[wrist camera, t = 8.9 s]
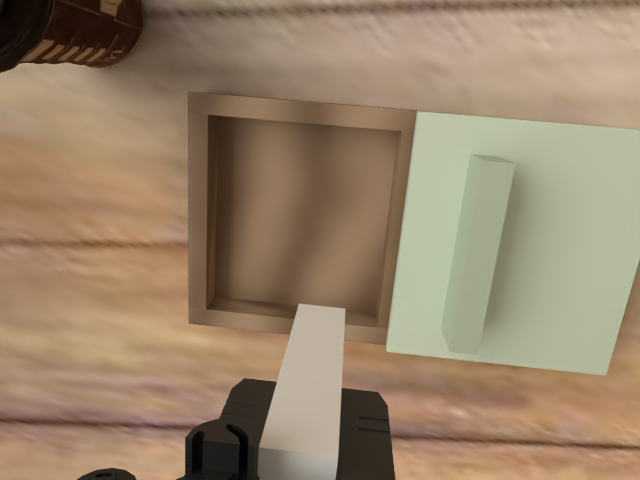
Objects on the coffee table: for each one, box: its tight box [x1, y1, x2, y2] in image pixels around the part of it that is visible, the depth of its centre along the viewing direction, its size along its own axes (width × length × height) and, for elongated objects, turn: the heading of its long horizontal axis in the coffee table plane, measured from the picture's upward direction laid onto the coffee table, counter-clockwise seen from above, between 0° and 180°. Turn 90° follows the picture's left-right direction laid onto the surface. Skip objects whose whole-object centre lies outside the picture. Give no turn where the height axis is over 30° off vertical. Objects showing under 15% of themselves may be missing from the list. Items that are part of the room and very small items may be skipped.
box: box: [188, 92, 424, 345], centre depth 31 cm, size 14×15×3 cm
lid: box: [386, 111, 640, 376], centre depth 27 cm, size 14×15×4 cm
